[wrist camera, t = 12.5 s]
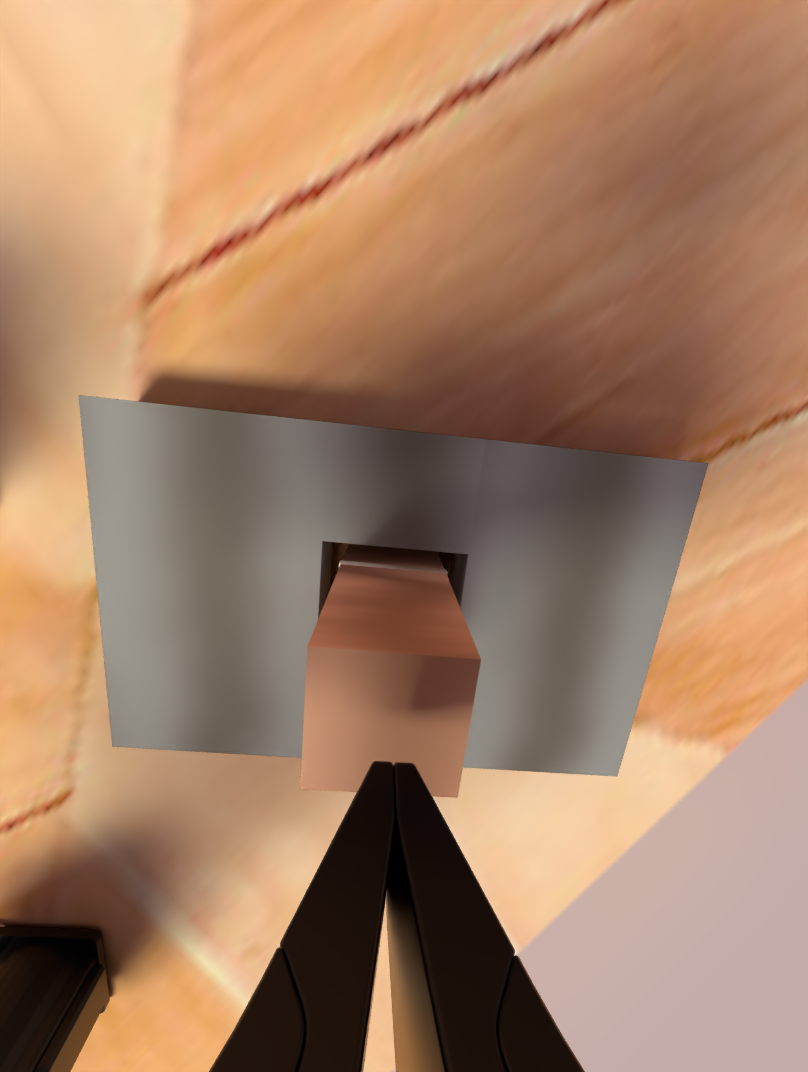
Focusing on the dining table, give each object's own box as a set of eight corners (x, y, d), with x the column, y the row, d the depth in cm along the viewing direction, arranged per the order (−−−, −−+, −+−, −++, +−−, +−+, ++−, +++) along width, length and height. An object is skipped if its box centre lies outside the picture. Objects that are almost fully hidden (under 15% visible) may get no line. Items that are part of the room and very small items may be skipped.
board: (155, 699, 19) (112, 746, 16) (136, 403, 16) (78, 395, 13) (584, 728, 20) (617, 776, 17) (653, 459, 17) (708, 463, 14)
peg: (342, 623, 18) (298, 790, 10) (348, 541, 17) (305, 644, 9) (427, 630, 19) (459, 799, 10) (437, 549, 18) (483, 657, 9)
